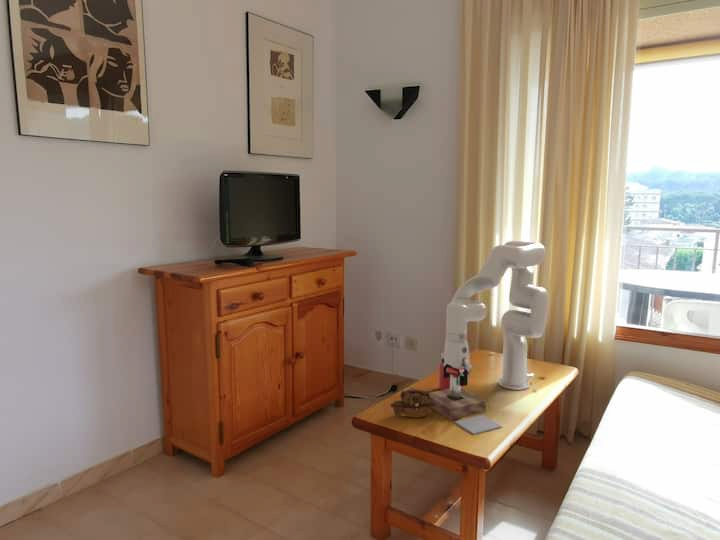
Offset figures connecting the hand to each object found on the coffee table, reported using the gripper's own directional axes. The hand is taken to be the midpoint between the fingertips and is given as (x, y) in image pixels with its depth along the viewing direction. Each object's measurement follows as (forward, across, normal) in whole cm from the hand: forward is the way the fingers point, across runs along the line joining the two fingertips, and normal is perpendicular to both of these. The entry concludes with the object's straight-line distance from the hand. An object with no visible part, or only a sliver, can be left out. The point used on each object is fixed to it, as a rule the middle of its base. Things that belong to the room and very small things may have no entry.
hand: (455, 381), depth 191 cm
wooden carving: (+11, 0, +18) cm, 21 cm away
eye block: (+10, 0, 0) cm, 10 cm away
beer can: (+10, +16, -8) cm, 21 cm away
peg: (+10, 0, 0) cm, 10 cm away
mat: (+10, -16, +2) cm, 19 cm away
